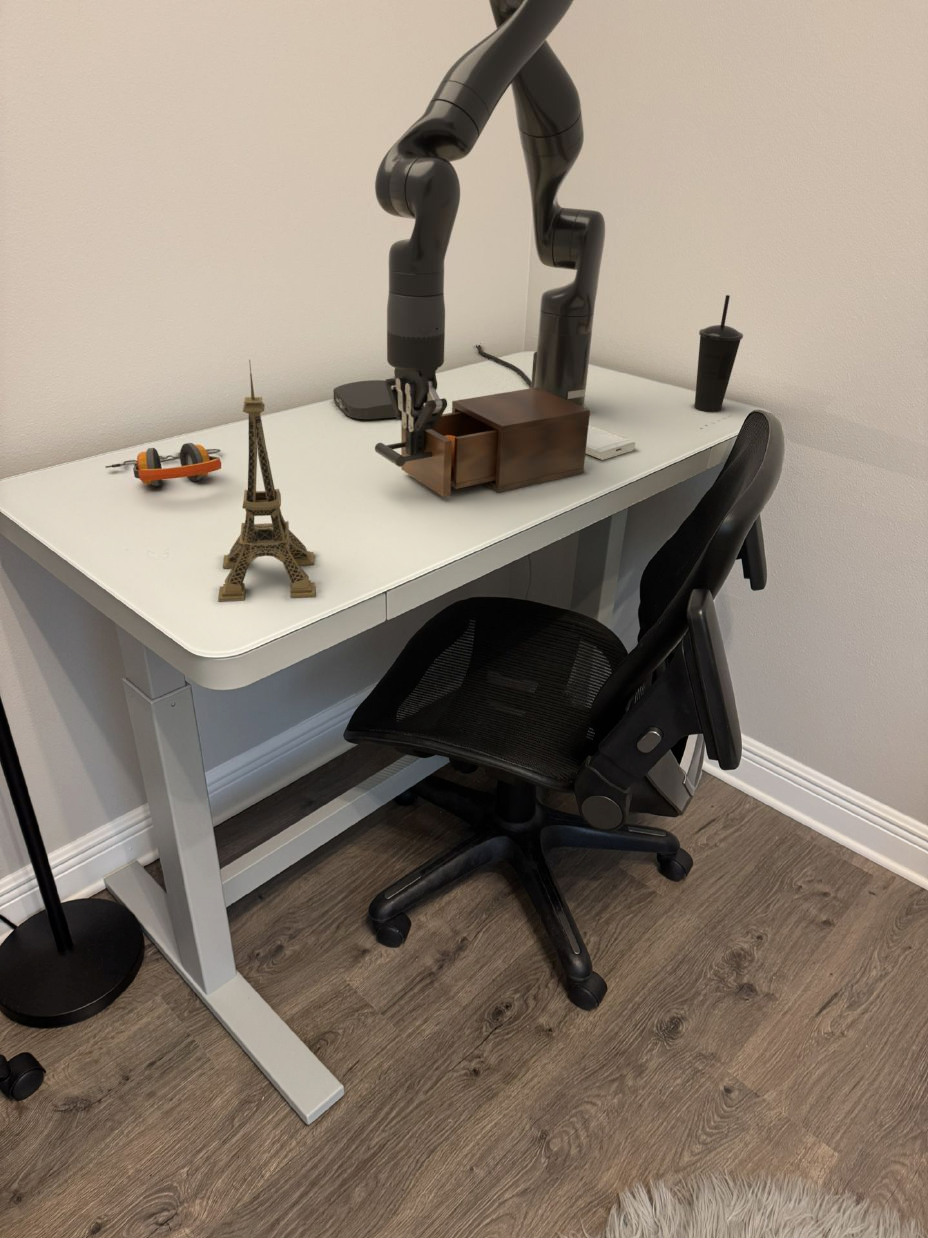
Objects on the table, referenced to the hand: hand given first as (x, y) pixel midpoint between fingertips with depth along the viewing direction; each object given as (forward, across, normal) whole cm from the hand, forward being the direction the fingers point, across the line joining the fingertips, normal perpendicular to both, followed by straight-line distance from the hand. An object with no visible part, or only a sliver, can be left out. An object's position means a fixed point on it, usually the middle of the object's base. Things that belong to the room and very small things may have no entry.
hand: (414, 454), depth 125 cm
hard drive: (+5, +3, -35) cm, 36 cm away
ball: (+1, 0, -6) cm, 6 cm away
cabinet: (+5, 0, -18) cm, 19 cm away
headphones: (+6, +20, +28) cm, 35 cm away
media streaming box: (+5, +36, -14) cm, 39 cm away
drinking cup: (+5, +8, -68) cm, 69 cm away
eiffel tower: (+6, -14, +28) cm, 32 cm away
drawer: (+4, 0, -5) cm, 7 cm away
